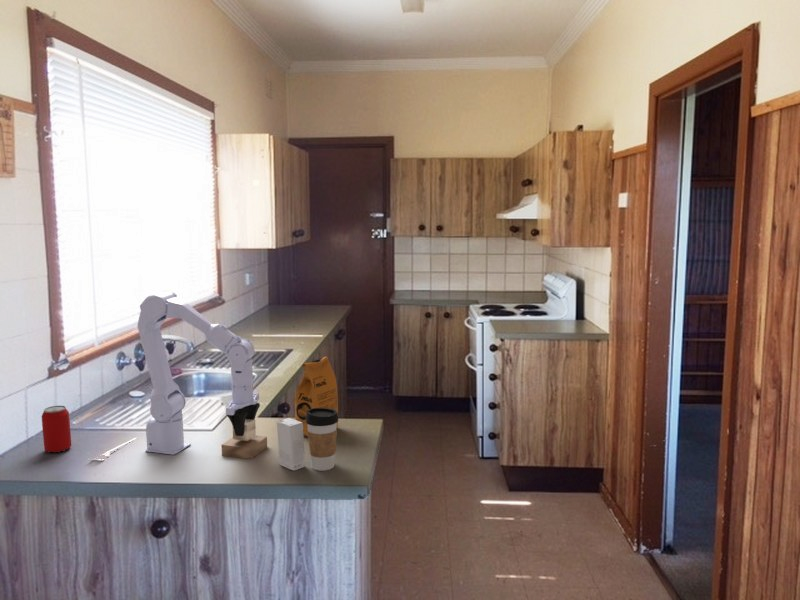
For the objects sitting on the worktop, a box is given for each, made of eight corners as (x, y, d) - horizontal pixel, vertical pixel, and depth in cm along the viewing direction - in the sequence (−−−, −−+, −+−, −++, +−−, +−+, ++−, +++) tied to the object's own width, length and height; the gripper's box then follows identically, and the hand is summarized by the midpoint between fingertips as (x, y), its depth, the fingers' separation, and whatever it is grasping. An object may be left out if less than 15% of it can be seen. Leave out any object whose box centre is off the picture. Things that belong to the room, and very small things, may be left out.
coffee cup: (307, 460, 172) (306, 406, 170) (339, 459, 172) (338, 405, 170) (305, 473, 163) (304, 416, 161) (338, 472, 164) (337, 415, 162)
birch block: (233, 439, 176) (232, 423, 176) (241, 433, 181) (240, 418, 180) (247, 440, 175) (247, 425, 174) (255, 435, 179) (255, 419, 179)
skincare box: (306, 466, 168) (304, 422, 166) (292, 471, 164) (290, 426, 163) (291, 460, 172) (290, 416, 170) (277, 465, 169) (276, 420, 167)
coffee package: (290, 433, 192) (288, 362, 189) (318, 422, 202) (317, 354, 199) (314, 440, 186) (313, 366, 183) (342, 428, 196) (341, 358, 193)
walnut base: (221, 455, 175) (221, 444, 175) (238, 443, 184) (238, 433, 183) (251, 458, 173) (251, 448, 172) (267, 446, 182) (266, 436, 181)
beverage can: (73, 444, 184) (69, 403, 182) (70, 452, 178) (67, 410, 176) (46, 447, 182) (42, 406, 180) (42, 455, 175) (39, 413, 174)
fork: (142, 440, 189) (141, 434, 189) (97, 465, 169) (96, 459, 169) (132, 440, 189) (131, 433, 189) (86, 465, 170) (85, 458, 170)
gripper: (242, 393, 168) (244, 442, 170) (268, 378, 181) (269, 425, 183) (218, 391, 170) (220, 440, 172) (245, 377, 183) (247, 422, 185)
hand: (244, 432), depth 178 cm, fingers closed on birch block, 4 cm apart
